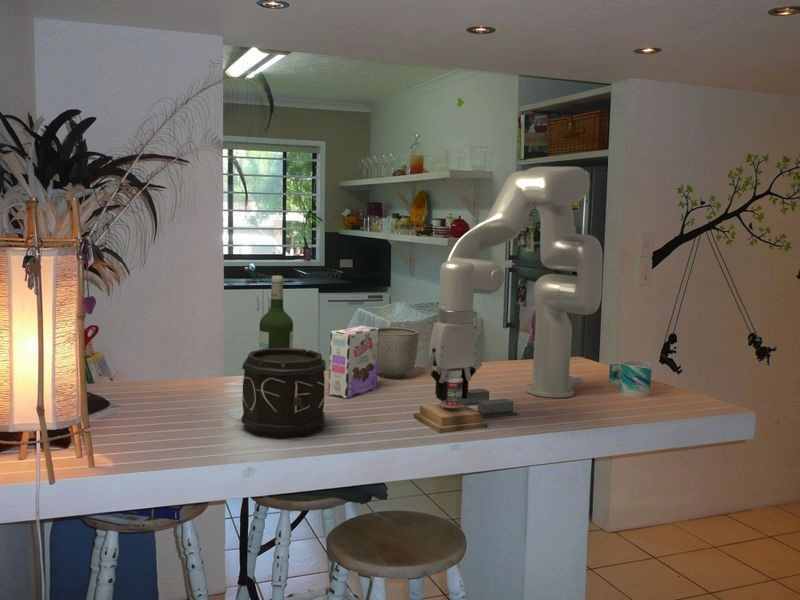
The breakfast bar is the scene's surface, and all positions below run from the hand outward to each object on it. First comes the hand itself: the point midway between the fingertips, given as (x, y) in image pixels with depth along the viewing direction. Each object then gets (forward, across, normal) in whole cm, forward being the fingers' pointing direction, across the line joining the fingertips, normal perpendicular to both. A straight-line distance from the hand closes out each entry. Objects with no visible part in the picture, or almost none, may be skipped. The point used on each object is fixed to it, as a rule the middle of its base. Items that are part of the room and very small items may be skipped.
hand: (451, 397), depth 167 cm
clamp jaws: (+6, -14, -8) cm, 17 cm away
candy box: (+6, +10, -32) cm, 34 cm away
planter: (+6, -8, -46) cm, 47 cm away
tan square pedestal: (+6, 0, 0) cm, 6 cm away
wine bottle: (+6, +31, -31) cm, 44 cm away
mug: (+6, -62, -10) cm, 63 cm away
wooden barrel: (+6, +36, -8) cm, 38 cm away
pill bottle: (+2, 0, 0) cm, 2 cm away
